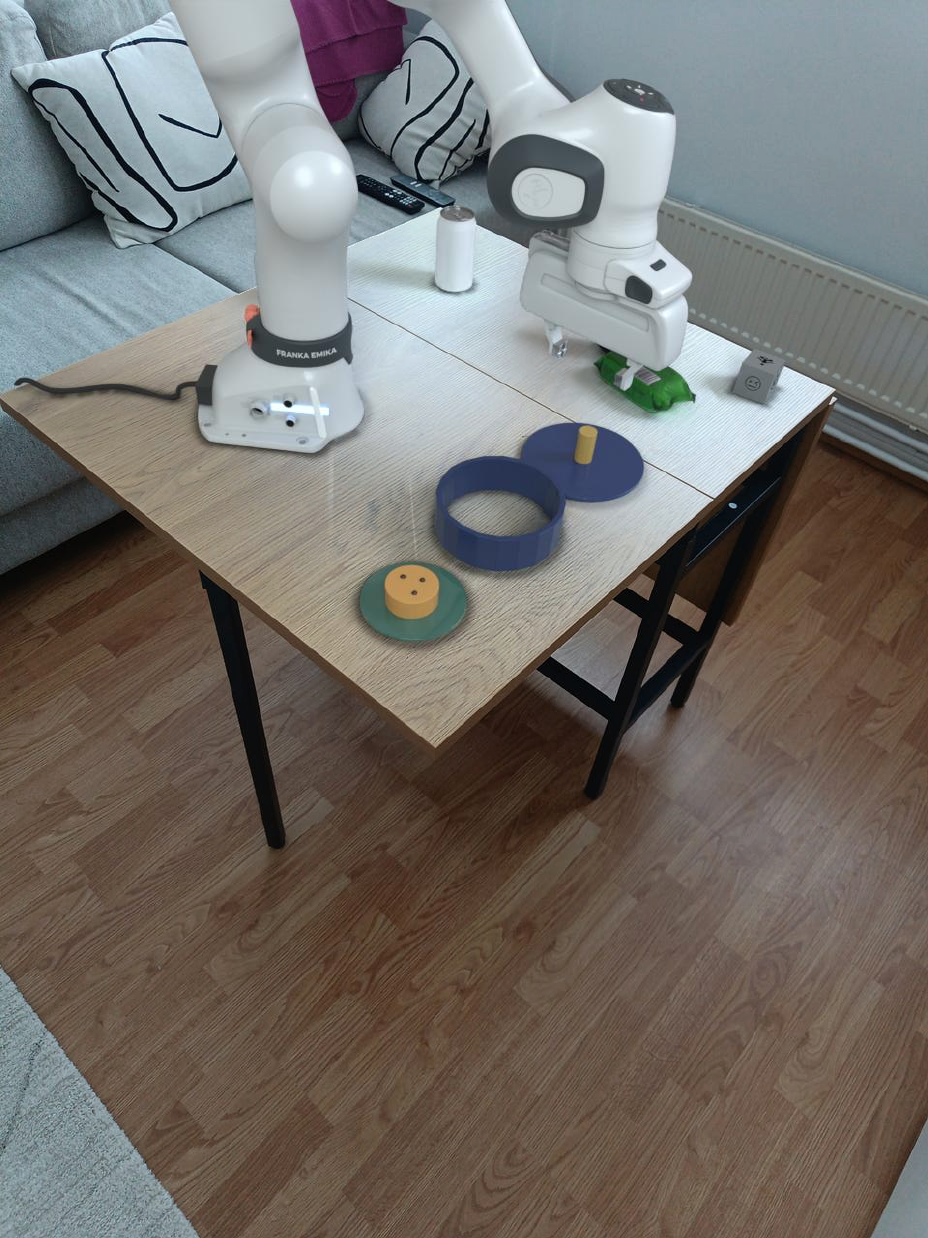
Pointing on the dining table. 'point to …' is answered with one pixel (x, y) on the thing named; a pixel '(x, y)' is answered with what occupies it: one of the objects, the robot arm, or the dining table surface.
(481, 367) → the dining table surface
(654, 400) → the snack package
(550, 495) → the cookie tin
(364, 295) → the dining table surface
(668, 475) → the dining table surface
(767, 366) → the dice cube
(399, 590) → the cookie
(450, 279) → the can
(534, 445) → the tin lid
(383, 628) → the plate
